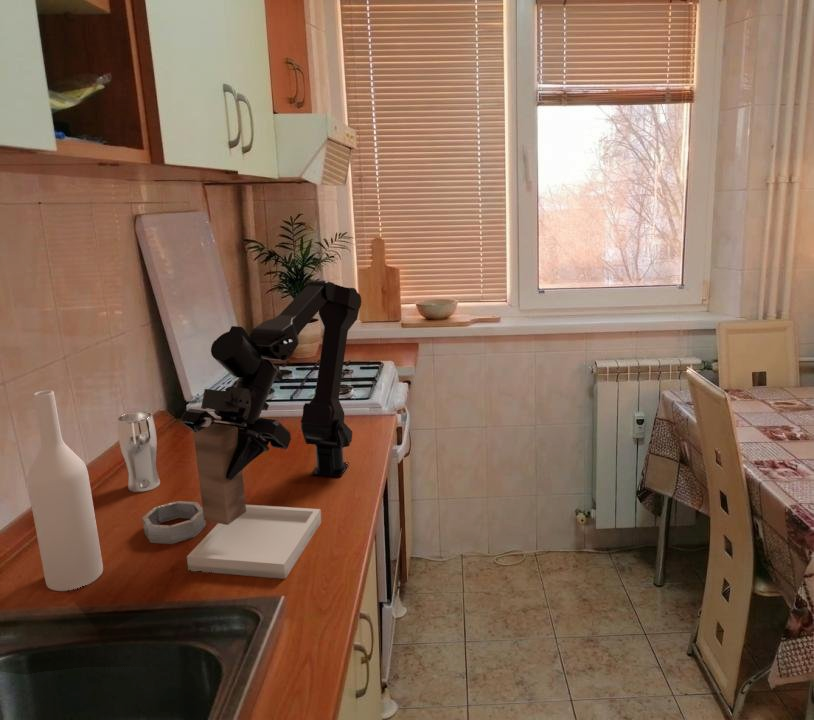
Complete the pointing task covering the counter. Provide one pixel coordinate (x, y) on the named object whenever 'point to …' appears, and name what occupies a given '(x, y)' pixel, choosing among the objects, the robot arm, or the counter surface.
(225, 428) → the walnut block
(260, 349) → the robot arm
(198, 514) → the grey octagonal ring
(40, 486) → the bottle
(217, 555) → the tray
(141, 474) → the beer glass
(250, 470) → the counter surface
